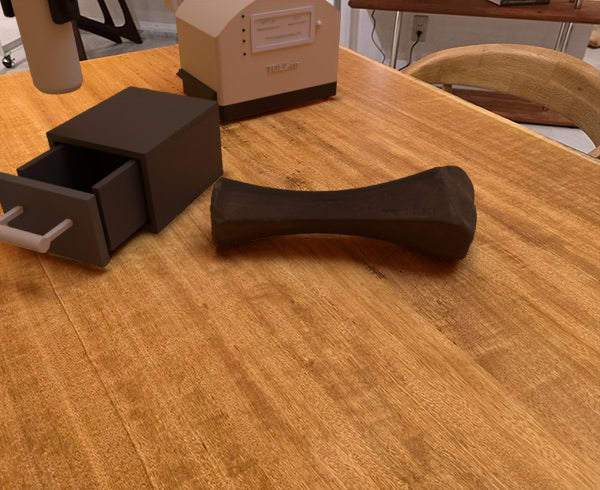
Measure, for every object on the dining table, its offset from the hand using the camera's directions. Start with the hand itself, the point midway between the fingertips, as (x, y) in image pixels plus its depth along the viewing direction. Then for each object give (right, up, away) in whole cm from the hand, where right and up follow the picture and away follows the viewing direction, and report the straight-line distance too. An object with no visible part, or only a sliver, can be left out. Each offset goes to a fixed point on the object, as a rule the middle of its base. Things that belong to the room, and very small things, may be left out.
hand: (42, 15), depth 55 cm
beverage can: (0, -5, +5) cm, 7 cm away
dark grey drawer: (+1, -19, +9) cm, 21 cm away
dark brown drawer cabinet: (+5, -13, +18) cm, 23 cm away
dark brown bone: (+29, -21, +9) cm, 37 cm away
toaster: (+15, +9, +46) cm, 49 cm away
